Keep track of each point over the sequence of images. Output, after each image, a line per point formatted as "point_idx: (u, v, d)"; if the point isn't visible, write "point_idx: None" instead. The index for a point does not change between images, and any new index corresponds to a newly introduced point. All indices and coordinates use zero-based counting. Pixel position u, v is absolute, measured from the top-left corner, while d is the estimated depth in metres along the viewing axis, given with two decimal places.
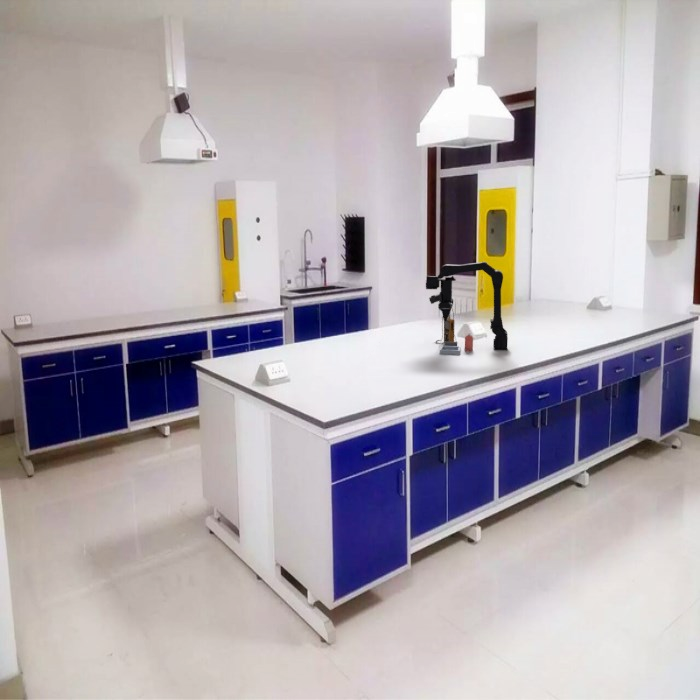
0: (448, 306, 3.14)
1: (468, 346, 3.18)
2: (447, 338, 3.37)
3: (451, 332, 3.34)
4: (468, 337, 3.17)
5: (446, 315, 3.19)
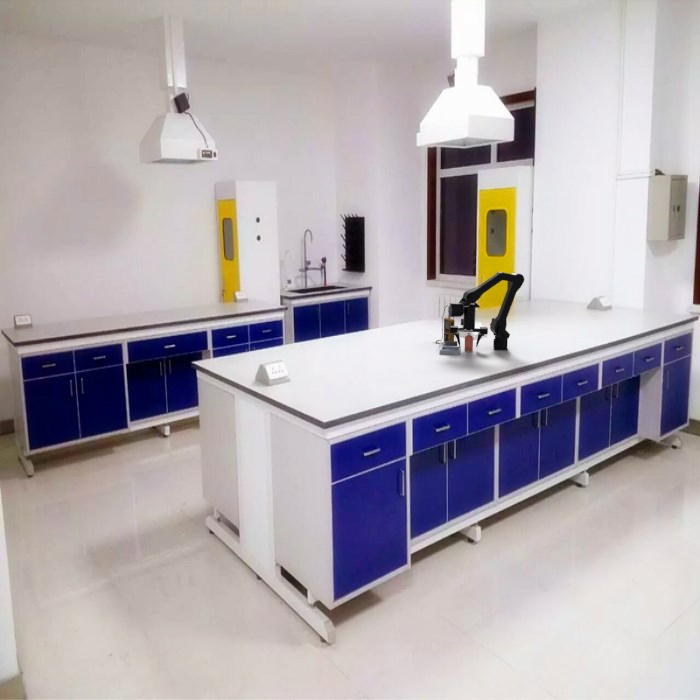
0: None
1: (468, 346, 3.18)
2: (447, 338, 3.37)
3: None
4: (468, 337, 3.17)
5: (457, 340, 3.20)
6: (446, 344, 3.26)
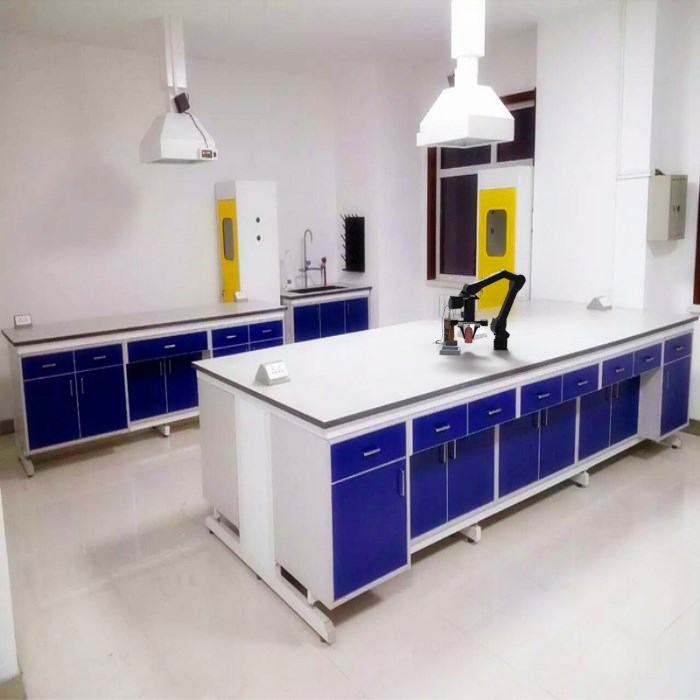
0: (450, 323, 3.17)
1: (468, 338, 3.17)
2: (447, 338, 3.37)
3: (451, 332, 3.34)
4: (468, 329, 3.16)
5: (462, 333, 3.18)
6: (446, 340, 3.29)
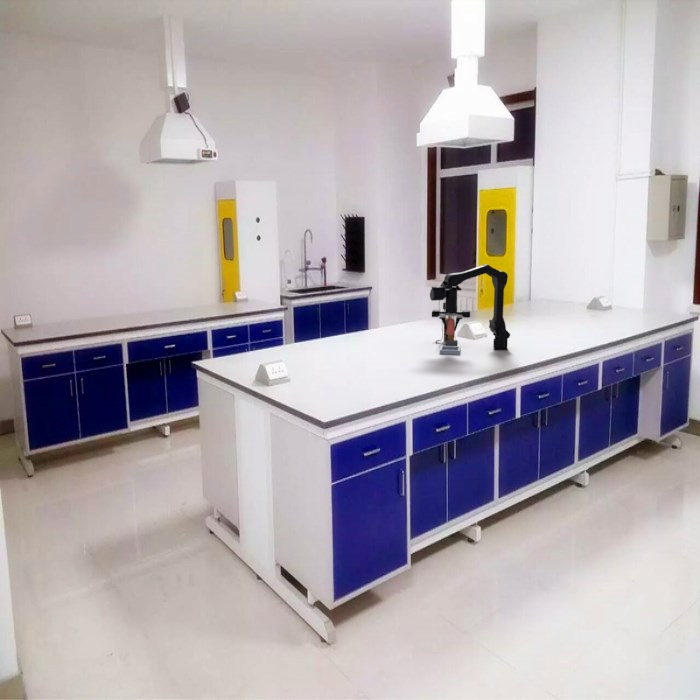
0: None
1: (450, 330, 3.13)
2: (447, 338, 3.37)
3: None
4: (450, 320, 3.12)
5: (444, 324, 3.14)
6: (447, 340, 3.30)
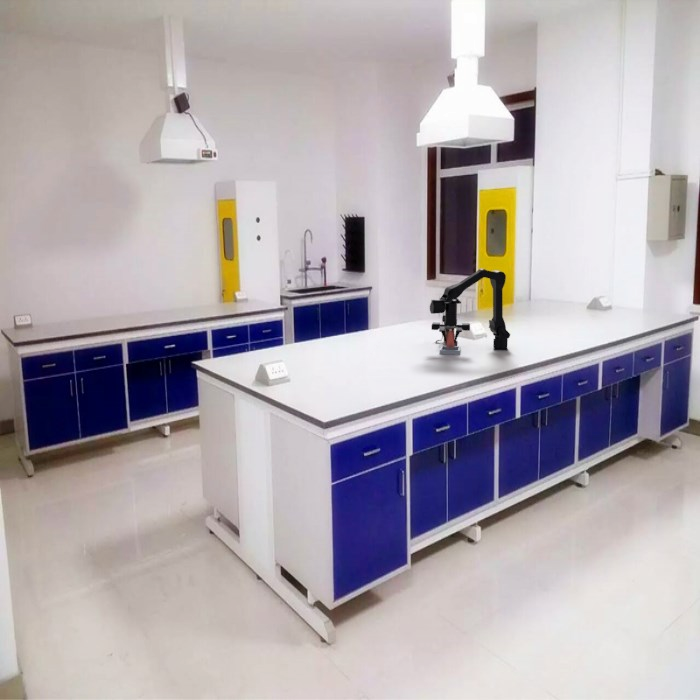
0: None
1: (450, 342, 3.14)
2: None
3: None
4: (449, 333, 3.14)
5: None
6: None
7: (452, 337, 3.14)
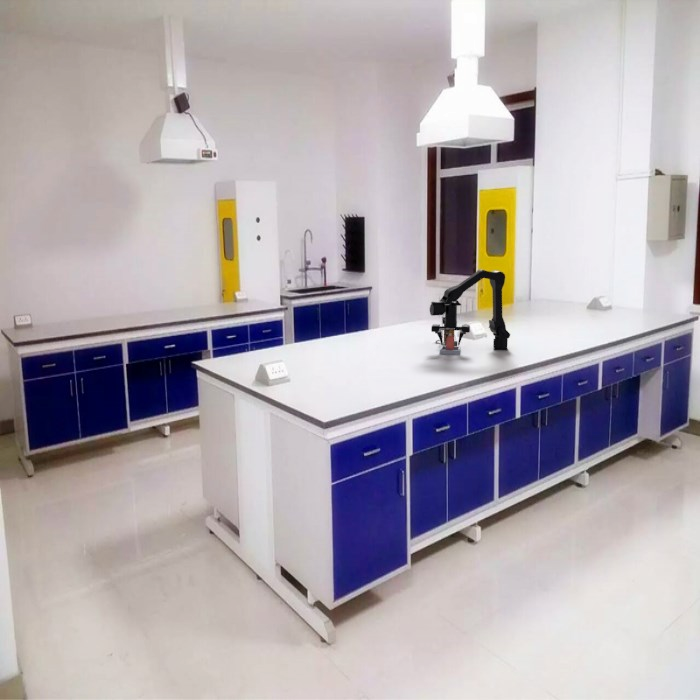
0: None
1: (449, 347, 3.15)
2: None
3: (451, 332, 3.34)
4: (449, 337, 3.14)
5: None
6: None
7: (452, 341, 3.15)
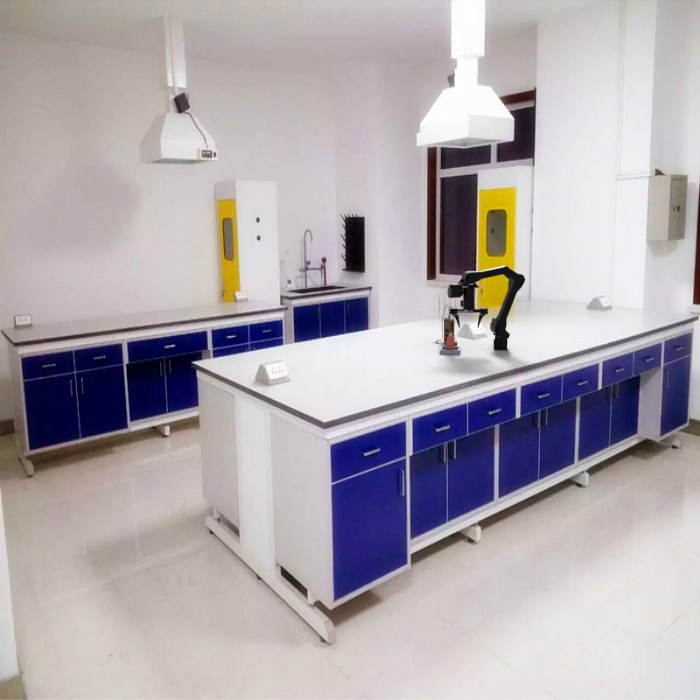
0: None
1: (449, 347, 3.15)
2: None
3: (451, 332, 3.34)
4: (450, 337, 3.14)
5: (457, 321, 3.17)
6: None
7: (452, 342, 3.14)
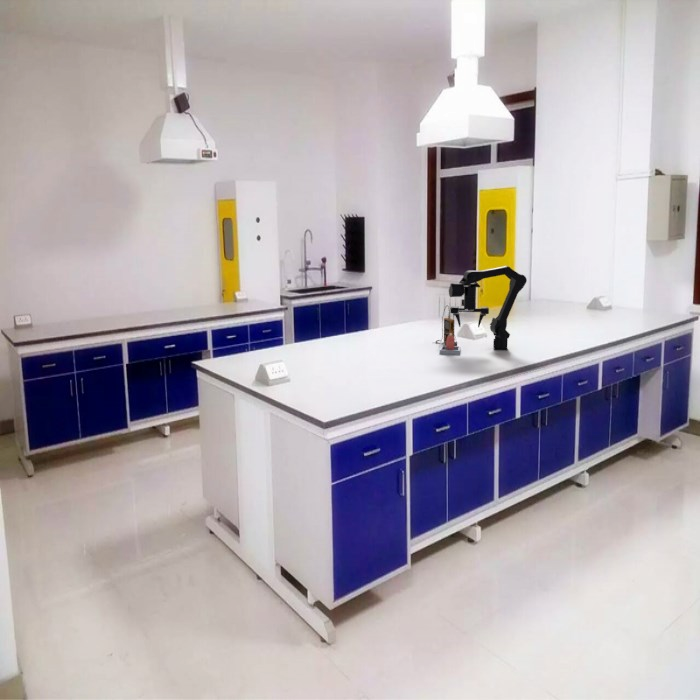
0: None
1: (449, 346, 3.15)
2: None
3: (451, 332, 3.34)
4: (449, 337, 3.15)
5: (457, 320, 3.17)
6: None
7: (452, 341, 3.15)
